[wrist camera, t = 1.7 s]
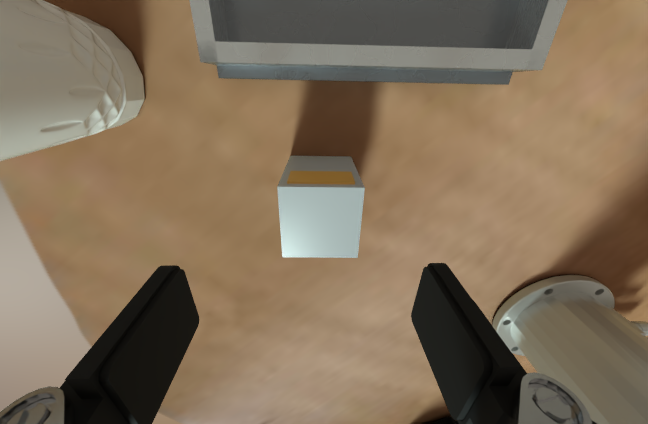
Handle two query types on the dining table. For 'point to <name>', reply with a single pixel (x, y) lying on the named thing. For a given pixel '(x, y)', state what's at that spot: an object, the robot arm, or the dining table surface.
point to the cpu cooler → (446, 421)
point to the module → (320, 207)
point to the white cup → (60, 78)
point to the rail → (376, 39)
